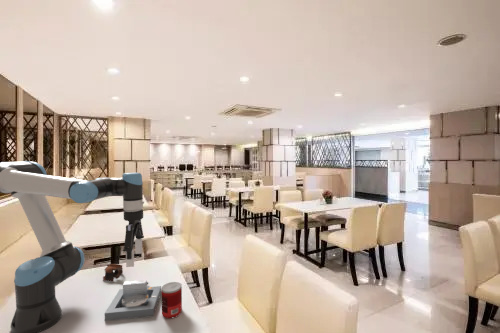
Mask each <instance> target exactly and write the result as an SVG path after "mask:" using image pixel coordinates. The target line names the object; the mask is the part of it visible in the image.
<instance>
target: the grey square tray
mask: <svg viewBox="0 0 500 333" xmlns="http://www.w3.org/2000/svg"><path fill="white" fill-rule="evenodd" d="M161 289H162V286H161V285H157V286H147V294H148V296H149V302H148V304H147V305H146V306H136V307H124V308H122V307H120V306H122V304H121V301H122V299H123V288H120V289H119V290H118V292H117V293H116V295H115V296H114V298H113V299H112V301H111V302H110V304H109V305H108V307H107V308H106V310H105V312H104V322H105V321H115V320H127V319H137V318H149V317H154V315H155V312H156V310H157V307H156V306H158V304H157V303H159V301H158V300H160V298H159V297H161ZM120 304H121V305H120ZM155 309H156V310H155Z"/></svg>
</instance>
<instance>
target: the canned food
mask: <svg viewBox="0 0 500 333" xmlns="http://www.w3.org/2000/svg"><path fill="white" fill-rule="evenodd" d="M182 293H183V292H182V284H181V282H178V281H172V282H168V283H165V284H163V286H161V295H160V297H161V315H162V317H163V318H164V317H165V319H173V318H172V317H174V318H177V317H178V316H180V315H181V313H182V310H183V306H182V305H183V304H182V303H183V301H182V300H183V297H182ZM176 316H177V317H176Z"/></svg>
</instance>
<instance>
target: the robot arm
mask: <svg viewBox="0 0 500 333" xmlns="http://www.w3.org/2000/svg"><path fill="white" fill-rule="evenodd" d="M143 184H144V183H143V175H142V173H140V172H124V173H122V177H105V176H104V177H97V178H95V179H93V180H86V179H79V178H71V177H63V176H56V175H50V174H47V170H46V169H45V168H44V166H43V165H42V164H40V163H38V162H36V161H29V160H21V161H18V160H17V161H1V162H0V193H2V194H3V193H4V194H10V195H11V197H12V198H15V199H17V200H18V201H19V203H20V205H21V207H22V210H23V212H24V214H25V217H26V218H27V220H28V222H29V224H30V227H31V229H32V231H33V233H34V235H35V237H36V241H37V242H38V244H39V247H40V248H41V250H42V251H41V253H40V255H39V257H35V258H33V259H30V260H29V259H28V260H27V261H25V262H22V264H19V266H18V267H16V269H15V271H14V280H13V282H14V290H15V291H14V292H15V293H14V294H15V311H14V314H13V317H12V321H11V323H10V332H12V333H36V332H37V333H40V332H43V331H45V330H47V329H48V328H49V329H50V327H52V326H54V325H55V324H57V323H58V322H59V321H60V320H61V318H62V316H63V314H62V313H63V312H62V308H61V305H60V304H59V302H58V299H57V298H56V286H58V285H60V284H61V283H63V282H64V281H66V280H67V279H69V278H71V277H73V276H74V275H76V274H77V273H78V272H79V271H81V269H82V268H83V266H84V264H85V253H84V251H83V250H82V249H81V248H79V247H78V246H73V243H72V242H71V241H68V240H66V237H65V236H64V233H63V231H62V229H61V227H60V225H59V222H58V220H57V218H56V216H55V214H54V211H53V210H52V207H51V205H50V203H49V201H48V199H47V197H53V198H62V199H67V200H68V199H69V200H72V201H73V202H75V203H77V204H84V203H85V204H87V203H91V202H94V201H96V200H100V199H103V198H108V197H111V196H114V197H115V196H122V200H123V201H122V206H123V208H122V209H123V220H124V221H127V222H128V224H126V225H125V236H124V237H125V238H124V246H123V250H122V251H123V252H125V263H126V264H125V267H126V268H132V267H134V266H135V255H141V254H143V239H144V238H145V236H144V231H143V225H142V220H143V218H144V210H143V208H144V204H145V201H144V199H143V198H144V197H143V196H144V195H143V193H144V192H143V190H144V187H143ZM46 196H47V197H46ZM134 247H135V249H134ZM134 250H135V251H134Z"/></svg>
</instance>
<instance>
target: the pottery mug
mask: <svg viewBox="0 0 500 333" xmlns="http://www.w3.org/2000/svg"><path fill="white" fill-rule="evenodd" d="M104 268H105V269H104V276H102V281H103V282H114V281H115V280H114V279H116V280H118V279H119V278H120V276H121V275H123V273H124V270H123V269H124V268H123V264H117V263H109V264H107V265H106V267H104Z"/></svg>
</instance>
